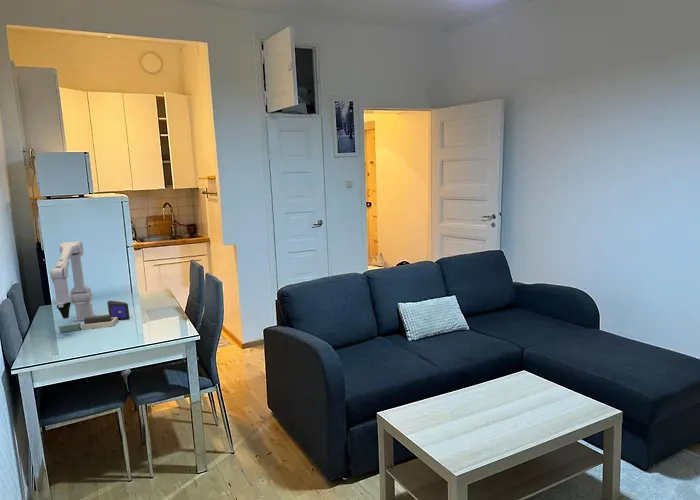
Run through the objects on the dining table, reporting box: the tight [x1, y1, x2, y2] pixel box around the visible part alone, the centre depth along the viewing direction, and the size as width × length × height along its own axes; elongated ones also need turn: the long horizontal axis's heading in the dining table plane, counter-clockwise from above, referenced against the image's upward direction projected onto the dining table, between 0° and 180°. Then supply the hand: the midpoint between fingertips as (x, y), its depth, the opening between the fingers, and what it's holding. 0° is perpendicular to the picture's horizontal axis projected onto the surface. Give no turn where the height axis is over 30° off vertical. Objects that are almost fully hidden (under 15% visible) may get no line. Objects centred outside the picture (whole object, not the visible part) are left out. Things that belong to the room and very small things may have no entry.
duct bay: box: [81, 317, 119, 331], centre depth 253 cm, size 9×15×2 cm, turn 101°
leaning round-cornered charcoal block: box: [107, 300, 131, 321], centre depth 264 cm, size 16×5×9 cm, turn 60°
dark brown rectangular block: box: [83, 314, 111, 324], centre depth 253 cm, size 4×12×5 cm, turn 106°
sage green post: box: [58, 323, 82, 334], centre depth 246 cm, size 10×1×3 cm, turn 111°
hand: (66, 317), depth 240 cm, fingers closed
